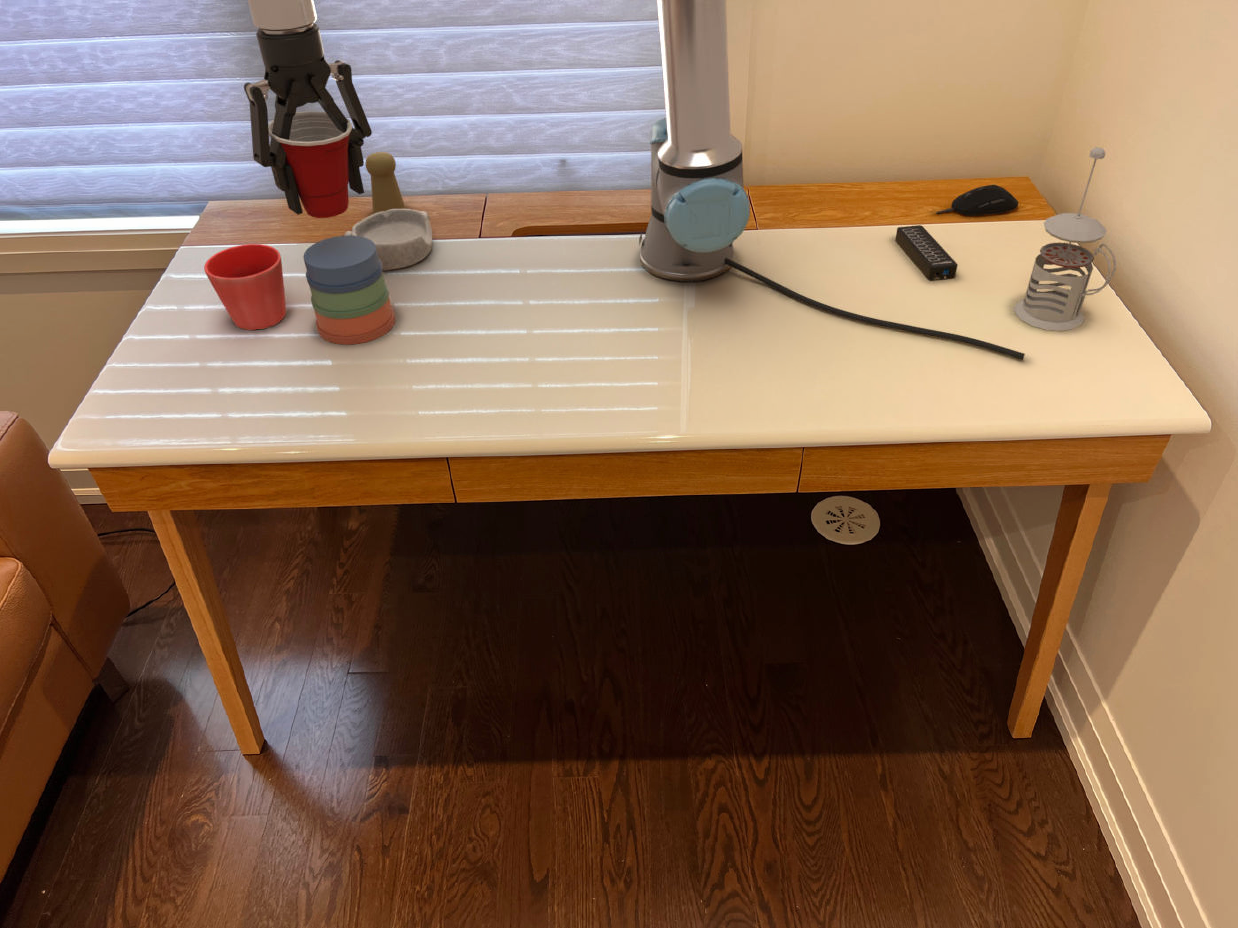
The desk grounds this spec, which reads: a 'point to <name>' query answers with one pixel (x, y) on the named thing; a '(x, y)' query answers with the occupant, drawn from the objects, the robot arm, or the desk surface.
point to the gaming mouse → (984, 201)
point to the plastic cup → (318, 162)
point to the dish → (397, 236)
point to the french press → (1064, 304)
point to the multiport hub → (926, 253)
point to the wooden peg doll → (384, 182)
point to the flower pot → (249, 284)
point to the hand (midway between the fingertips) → (327, 200)
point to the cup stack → (348, 290)
